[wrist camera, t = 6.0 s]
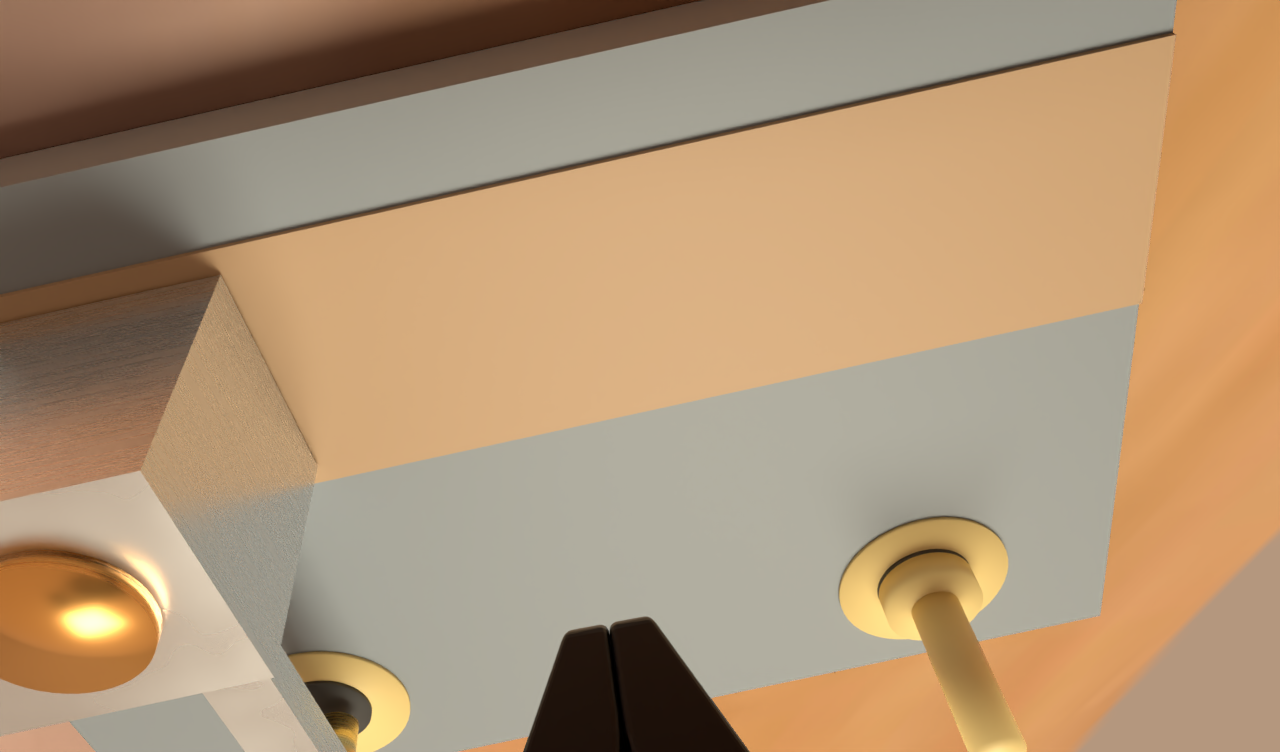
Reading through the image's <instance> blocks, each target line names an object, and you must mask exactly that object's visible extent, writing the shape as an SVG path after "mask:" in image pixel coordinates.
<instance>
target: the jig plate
mask: <svg viewBox="0 0 1280 752" xmlns="http://www.w3.org/2000/svg"><path fill="white" fill-rule="evenodd" d="M1176 1H1177V0H701V1H696V2H692V3H687V4H683V5H679V6H674V7H670V8H665V9H661V10H657V11H652V12H648V13H643V14H639V15H634V16H630V17H626V18H621V19H617V20H612V21H608V22H604V23H599V24H595V25H590V26H586V27H581V28H577V29H573V30H568V31H564V32H559V33H555V34H551V35H546V36H542V37H537V38H533V39H528V40H524V41H520V42H515V43H511V44H506V45H502V46H498V47H493V48H489V49H484V50H480V51H475V52H471V53H467V54H462V55H458V56H453V57H449V58H445V59H440V60H436V61H431V62H427V63H422V64H418V65H414V66H409V67H405V68H400V69H396V70H392V71H387V72H383V73H378V74H374V75H369V76H365V77H361V78H356V79H352V80H347V81H343V82H339V83H334V84H330V85H325V86H321V87H316V88H312V89H308V90H303V91H299V92H294V93H290V94H286V95H281V96H277V97H272V98H268V99H263V100H259V101H255V102H250V103H246V104H241V105H237V106H233V107H228V108H224V109H219V110H215V111H210V112H206V113H202V114H197V115H193V116H188V117H184V118H180V119H175V120H171V121H166V122H162V123H157V124H153V125H149V126H144V127H140V128H135V129H131V130H127V131H122V132H118V133H113V134H109V135H104V136H100V137H96V138H91V139H87V140H82V141H78V142H74V143H69V144H65V145H60V146H56V147H51V148H47V149H43V150H38V151H34V152H29V153H25V154H20V155H16V156H12V157H7V158H3V159H0V324H2V323H6V322H10V321H15V320H19V319H24V318H28V317H33V316H37V315H42V314H46V313H51V312H55V311H60V310H64V309H69V308H73V307H78V306H82V305H87V304H91V303H96V302H100V301H105V300H109V299H114V298H118V297H123V296H127V295H132V294H136V293H141V292H145V291H150V290H154V289H159V288H163V287H168V286H172V285H177V284H181V283H186V282H190V281H194V280H199V279H203V278H208V277H212V276H217V275H221V276H222V278H223V280H224V282H225V284H226V286H227V288H228V290H229V292H230V294H231V296H232V298H233V300H234V302H235V304H236V306H237V308H238V310H239V312H240V314H241V316H242V318H243V320H244V322H245V324H246V326H247V328H248V329H249V331H250V333H251V335H252V337H253V339H254V341H255V343H256V345H257V347H258V349H259V351H260V353H261V355H262V357H263V359H264V361H265V363H266V365H267V367H268V369H269V371H270V373H271V375H272V377H273V379H274V381H275V383H276V385H277V387H278V389H279V391H280V393H281V395H282V397H283V399H284V401H285V403H286V405H287V407H288V409H289V410H290V412H291V414H292V416H293V418H294V420H295V422H296V424H297V426H298V428H299V430H300V432H301V434H302V436H303V438H304V440H305V442H306V444H307V446H308V448H309V450H310V452H311V454H312V456H313V458H314V460H315V462H316V464H317V466H318V468H317V473H316V478H315V483H314V487H313V492H312V497H311V502H310V507H309V512H308V516H307V521H306V526H305V531H304V536H303V541H302V546H301V550H300V555H299V560H298V565H297V570H296V575H295V579H294V584H293V589H292V594H291V599H290V604H289V608H288V613H287V618H286V623H285V628H284V633H283V638H282V642H281V646H282V648H283V650H284V651H285V653H286V654H287V656H288V658H289V659H290V661H291V662H292V664H293V666H294V667H295V669H296V671H297V672H298V674H299V675H300V677H301V679H302V680H303V682H304V683H305V685H306V687H307V688H308V690H309V691H310V693H311V695H312V696H313V698H314V699H315V701H316V703H317V704H318V706H319V707H320V709H321V711H322V712H323V714H326V713H330V712H343V713H347V714H350V715H352V716H354V717H355V718H356V719H357V720H358V722H359V731H358V739H357V747H356V752H458V751H463V750H467V749H472V748H477V747H482V746H486V745H491V744H496V743H501V742H505V741H510V740H515V739H520V738H524V737H529V734H530V731H531V728H532V725H533V722H534V719H535V716H536V713H537V710H538V708H539V705H540V702H541V699H542V696H543V693H544V690H545V687H546V684H547V681H548V678H549V676H550V673H551V670H552V667H553V664H554V661H555V658H556V655H557V652H558V649H559V646H560V644H561V641H562V638H563V637H564V635H565V634H566V633H567V632H568V631H570V630H574V629H579V628H584V627H590V626H595V625H604V626H606V627H607V628H608V630H609V629H610V626H611V625H612V624H613V623H614V622H616V621H622V620H627V619H632V618H638V617H643V616H648V617H650V618H652V619H653V620H654V621H655V622H656V623H657V625H658V626H659V627H660V629H661V630H662V632H663V633H664V634H665V636H666V637H667V638H668V640H669V641H670V643H671V644H672V645H673V647H674V648H675V649H676V651H677V652H678V654H679V655H680V656H681V658H682V659H683V660H684V662H685V663H686V665H687V666H688V667H689V669H690V670H691V671H692V673H693V674H694V676H695V677H696V678H697V680H698V681H699V683H700V684H701V685H702V687H703V688H704V689H705V691H706V692H707V694H708V695H709V696H710V698H713V697H718V696H723V695H728V694H732V693H737V692H742V691H746V690H751V689H756V688H761V687H765V686H770V685H775V684H780V683H784V682H789V681H794V680H798V679H803V678H808V677H813V676H817V675H822V674H827V673H832V672H836V671H841V670H846V669H850V668H855V667H860V666H865V665H869V664H874V663H879V662H884V661H888V660H893V659H898V658H903V657H907V656H912V655H917V654H921V653H926V652H927V654H928V656H929V659H930V661H931V664H932V666H933V668H934V671H935V673H936V676H937V678H938V681H939V683H940V685H941V688H942V690H943V693H944V695H945V698H946V700H947V702H948V705H949V707H950V710H951V712H952V714H953V717H954V719H955V722H956V724H957V727H958V729H959V731H960V734H961V736H962V739H963V741H964V744H965V746H966V748H967V751H968V752H1026V751H1027V745H1026V743H1025V740H1024V738H1023V736H1022V734H1021V732H1020V730H1019V728H1018V725H1017V723H1016V721H1015V719H1014V717H1013V715H1012V713H1011V710H1010V708H1009V706H1008V704H1007V702H1006V700H1005V698H1004V696H1003V693H1002V691H1001V689H1000V687H999V685H998V683H997V681H996V678H995V676H994V674H993V672H992V670H991V668H990V666H989V663H988V661H987V659H986V657H985V655H984V653H983V651H982V648H981V646H980V644H979V642H978V641H983V640H988V639H992V638H997V637H1002V636H1007V635H1011V634H1016V633H1021V632H1025V631H1030V630H1035V629H1040V628H1044V627H1049V626H1054V625H1059V624H1063V623H1068V622H1073V621H1077V620H1082V619H1087V618H1092V617H1096V616H1100V613H1101V605H1102V597H1103V589H1104V581H1105V573H1106V565H1107V557H1108V548H1109V540H1110V532H1111V524H1112V516H1113V508H1114V500H1115V492H1116V484H1117V476H1118V468H1119V460H1120V452H1121V444H1122V436H1123V428H1124V420H1125V412H1126V404H1127V396H1128V388H1129V380H1130V372H1131V363H1132V355H1133V347H1134V339H1135V331H1136V323H1137V315H1138V307H1139V304H1141V303H1142V301H1143V293H1144V285H1145V277H1146V269H1147V261H1148V253H1149V246H1150V238H1151V230H1152V222H1153V214H1154V206H1155V198H1156V190H1157V182H1158V174H1159V167H1160V159H1161V151H1162V143H1163V135H1164V127H1165V119H1166V111H1167V103H1168V95H1169V87H1170V80H1171V72H1172V64H1173V56H1174V48H1175V40H1176V34H1174V33H1173V26H1174V18H1175V10H1176ZM609 633H610V632H609ZM69 722H70V723H71V724H72V725H73V726H74V728H75V729H76V730H77V731H78V732H79V733H80V734H81V735H82V737H83V738H84V739H85V740H86V741H87V742H88V743H89V745H90V746H91V747H92V748H93V749H94V750H95V751H96V752H245V751H244V750H243V748H242V747H241V746H240V744H239V743H238V742H237V740H236V739H235V737H234V736H233V735H232V733H231V732H230V731H229V729H228V728H227V726H226V725H225V724H224V722H223V721H222V720H221V718H220V717H219V715H218V714H217V713H216V711H215V710H214V709H213V707H212V706H211V704H210V703H209V702H208V700H207V699H206V698H205V696H204V695H203V693H200V694H196V695H191V696H186V697H181V698H177V699H172V700H167V701H163V702H158V703H153V704H149V705H144V706H139V707H135V708H130V709H125V710H121V711H116V712H111V713H107V714H102V715H97V716H93V717H88V718H83V719H79V720H74V721H69Z"/></svg>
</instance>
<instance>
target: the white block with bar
mask: <svg viewBox="0 0 1280 752" xmlns="http://www.w3.org/2000/svg"><path fill="white" fill-rule="evenodd" d="M317 468H318V466H317V464H316V462H315V460H314V458H313V456H312V454H311V452H310V450H309V448H308V446H307V444H306V442H305V440H304V438H303V436H302V434H301V432H300V430H299V428H298V426H297V424H296V422H295V420H294V418H293V416H292V414H291V412H290V410H289V409H288V407H287V405H286V403H285V401H284V399H283V397H282V395H281V393H280V391H279V389H278V387H277V385H276V383H275V381H274V379H273V377H272V375H271V373H270V371H269V369H268V367H267V365H266V363H265V361H264V359H263V357H262V355H261V353H260V351H259V349H258V347H257V345H256V343H255V341H254V339H253V337H252V335H251V333H250V331H249V329H248V328H247V326H246V324H245V322H244V320H243V318H242V316H241V314H240V312H239V310H238V308H237V306H236V304H235V302H234V300H233V298H232V296H231V294H230V292H229V290H228V288H227V286H226V284H225V282H224V280H223V278H222V276H221V275H217V276H212V277H208V278H203V279H199V280H194V281H190V282H186V283H181V284H177V285H172V286H168V287H163V288H159V289H154V290H150V291H145V292H141V293H136V294H132V295H127V296H123V297H118V298H114V299H109V300H105V301H100V302H96V303H91V304H87V305H82V306H78V307H73V308H69V309H64V310H60V311H55V312H51V313H46V314H42V315H37V316H33V317H28V318H24V319H19V320H15V321H10V322H6V323H2V324H0V736H4V735H9V734H13V733H18V732H23V731H27V730H32V729H37V728H41V727H46V726H51V725H55V724H60V723H65V722H69V721H74V720H79V719H83V718H88V717H93V716H97V715H102V714H107V713H111V712H116V711H121V710H125V709H130V708H135V707H139V706H144V705H149V704H153V703H158V702H163V701H167V700H172V699H177V698H181V697H186V696H191V695H196V694H200V693H203V695H204V696H205V698H206V699H207V700H208V702H209V703H210V704H211V706H212V707H213V709H214V710H215V711H216V713H217V714H218V715H219V717H220V718H221V720H222V721H223V722H224V724H225V725H226V726H227V728H228V729H229V731H230V732H231V733H232V735H233V736H234V737H235V739H236V740H237V742H238V743H239V744H240V746H241V747H242V748H243V750H244V751H245V752H356V747H357V739H358V731H359V722H358V720H357V719H356V718H355V717H354V716H352V715H350V714H347V713H343V712H330V713H326V714H323V712H322V711H321V709H320V707H319V706H318V704H317V703H316V701H315V699H314V698H313V696H312V695H311V693H310V691H309V690H308V688H307V687H306V685H305V683H304V682H303V680H302V679H301V677H300V675H299V674H298V672H297V671H296V669H295V667H294V666H293V664H292V662H291V661H290V659H289V658H288V656H287V654H286V653H285V651H284V650H283V648H282V646H281V642H282V638H283V633H284V628H285V623H286V618H287V613H288V608H289V604H290V599H291V594H292V589H293V584H294V579H295V575H296V570H297V565H298V560H299V555H300V550H301V546H302V541H303V536H304V531H305V526H306V521H307V516H308V512H309V507H310V502H311V497H312V492H313V487H314V483H315V478H316V473H317Z"/></svg>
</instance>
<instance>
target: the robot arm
mask: <svg viewBox="0 0 1280 752" xmlns="http://www.w3.org/2000/svg"><path fill="white" fill-rule="evenodd" d="M609 632H610V633H609ZM523 752H750V751H749V750H748V749H747V747H746V746H745V745H744V743H743V742H742V740H741V739H740V738H739V736H738V735H737V734H736V732H735V731H734V729H733V728H732V727H731V725H730V724H729V723H728V721H727V720H726V718H725V717H724V716H723V714H722V713H721V711H720V710H719V709H718V707H717V706H716V705H715V703H714V702H713V700H712V699H711V698H710V696H709V695H708V694H707V692H706V691H705V689H704V688H703V687H702V685H701V684H700V683H699V681H698V680H697V678H696V677H695V676H694V674H693V673H692V671H691V670H690V669H689V667H688V666H687V665H686V663H685V662H684V660H683V659H682V658H681V656H680V655H679V654H678V652H677V651H676V649H675V648H674V647H673V645H672V644H671V643H670V641H669V640H668V638H667V637H666V636H665V634H664V633H663V632H662V630H661V629H660V627H659V626H658V625H657V623H656V622H655V621H654V620H653V619H652V618H650V617H648V616H643V617H638V618H632V619H627V620H622V621H616V622H614V623H613V624H612V625H611V626H610V629H609V630H608V628H607V627H606V626H604V625H595V626H590V627H584V628H579V629H574V630H570V631H568V632H567V633H566V634H565V635H564V637H563V638H562V641H561V644H560V646H559V649H558V652H557V655H556V658H555V661H554V664H553V667H552V670H551V673H550V676H549V678H548V681H547V684H546V687H545V690H544V693H543V696H542V699H541V702H540V705H539V708H538V710H537V713H536V716H535V719H534V722H533V725H532V728H531V731H530V734H529V737H528V740H527V743H526V745H525V748H524V751H523Z"/></svg>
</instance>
